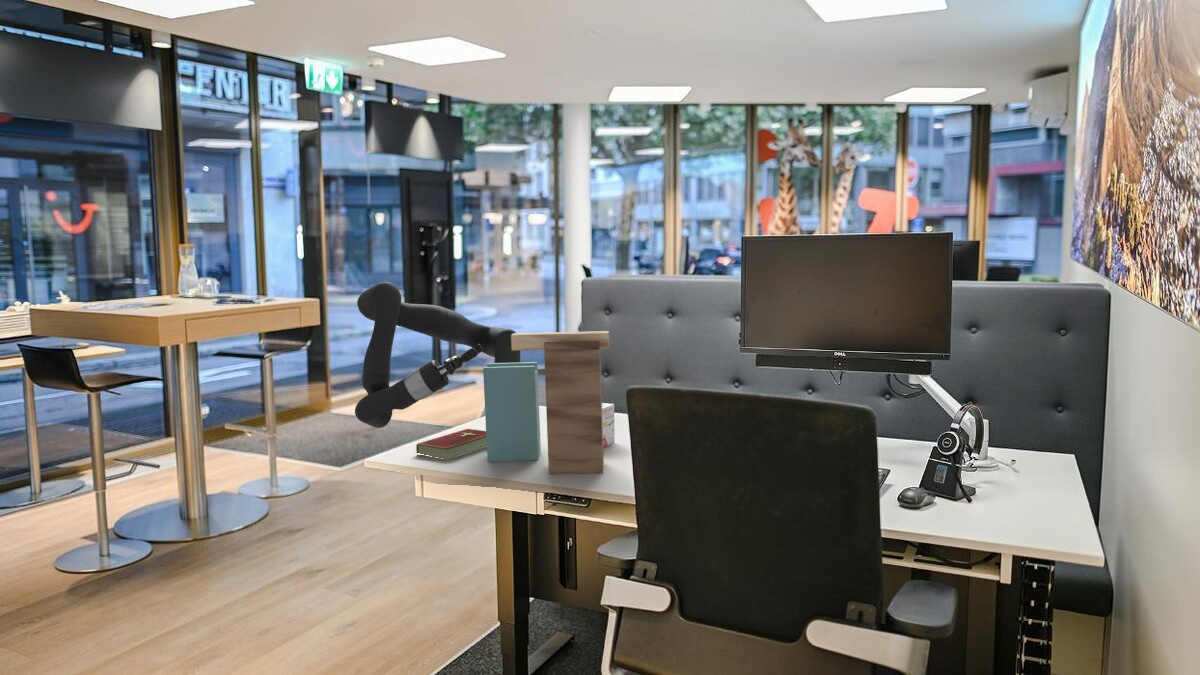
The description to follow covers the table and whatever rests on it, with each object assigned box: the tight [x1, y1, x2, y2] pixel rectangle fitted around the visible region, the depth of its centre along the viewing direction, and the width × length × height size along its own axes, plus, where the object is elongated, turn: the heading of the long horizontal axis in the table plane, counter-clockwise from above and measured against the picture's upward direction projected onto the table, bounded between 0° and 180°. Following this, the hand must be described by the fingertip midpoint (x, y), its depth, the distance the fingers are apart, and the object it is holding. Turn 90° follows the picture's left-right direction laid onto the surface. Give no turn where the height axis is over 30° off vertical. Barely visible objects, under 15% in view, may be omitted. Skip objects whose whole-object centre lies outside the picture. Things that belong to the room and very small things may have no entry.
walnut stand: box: [543, 341, 605, 475], centre depth 225 cm, size 10×14×34 cm
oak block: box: [511, 330, 610, 351], centre depth 223 cm, size 4×25×4 cm, turn 87°
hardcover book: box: [415, 428, 487, 460], centre depth 251 cm, size 12×21×4 cm, turn 146°
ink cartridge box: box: [602, 402, 616, 449], centre depth 250 cm, size 9×5×15 cm, turn 149°
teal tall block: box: [482, 361, 542, 462], centre depth 239 cm, size 8×14×26 cm, turn 89°
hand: (478, 349), depth 224 cm, fingers open, 8 cm apart
